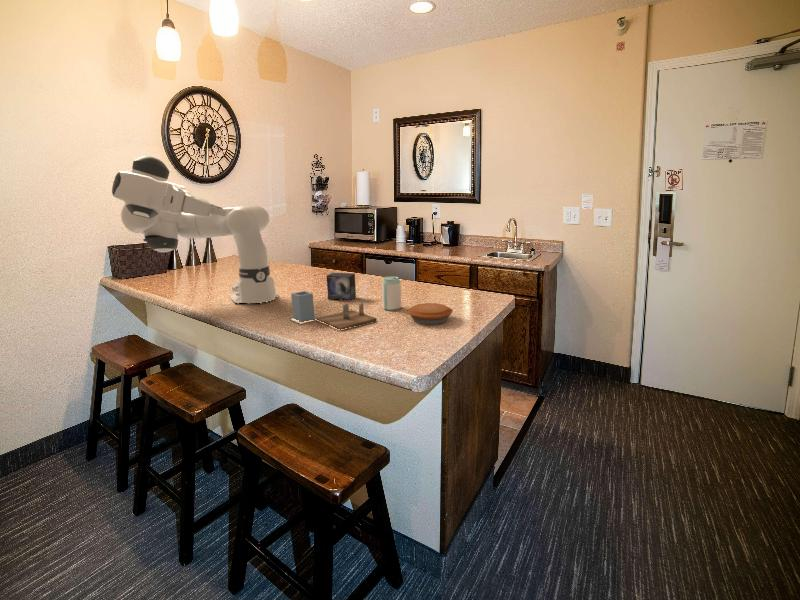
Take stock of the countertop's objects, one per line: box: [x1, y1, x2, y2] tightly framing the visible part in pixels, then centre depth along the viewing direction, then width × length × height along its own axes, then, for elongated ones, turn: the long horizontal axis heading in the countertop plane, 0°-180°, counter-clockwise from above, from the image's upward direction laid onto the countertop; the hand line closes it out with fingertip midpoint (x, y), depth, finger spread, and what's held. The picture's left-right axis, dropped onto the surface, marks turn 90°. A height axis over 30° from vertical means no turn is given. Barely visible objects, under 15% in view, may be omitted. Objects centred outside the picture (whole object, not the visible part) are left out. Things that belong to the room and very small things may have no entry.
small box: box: [326, 272, 357, 301], centre depth 188 cm, size 11×6×10 cm, turn 73°
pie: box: [407, 302, 453, 326], centre depth 156 cm, size 16×16×5 cm
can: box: [381, 275, 402, 311], centre depth 171 cm, size 7×7×12 cm
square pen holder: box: [290, 290, 318, 322], centre depth 158 cm, size 7×7×10 cm
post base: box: [316, 302, 378, 330], centre depth 156 cm, size 15×15×6 cm
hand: (224, 212), depth 142 cm, fingers open, 8 cm apart
